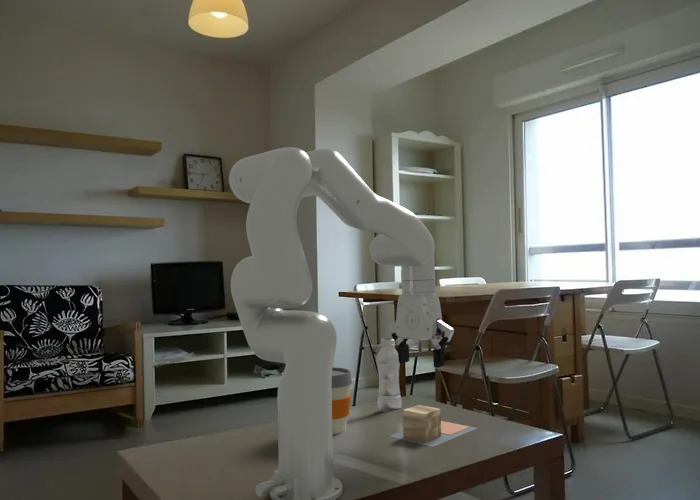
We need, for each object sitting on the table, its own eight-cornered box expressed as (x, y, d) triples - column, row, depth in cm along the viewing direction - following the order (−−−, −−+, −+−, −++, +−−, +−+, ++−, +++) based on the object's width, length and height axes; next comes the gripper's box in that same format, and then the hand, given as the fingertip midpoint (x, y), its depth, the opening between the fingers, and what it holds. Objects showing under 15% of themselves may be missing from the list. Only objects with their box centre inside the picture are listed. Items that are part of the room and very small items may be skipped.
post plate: (433, 454, 114) (432, 426, 114) (388, 442, 122) (388, 417, 122) (477, 434, 127) (477, 409, 127) (435, 425, 135) (434, 402, 135)
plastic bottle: (400, 415, 145) (398, 340, 146) (375, 414, 147) (374, 340, 147) (403, 409, 152) (401, 337, 152) (379, 409, 153) (377, 337, 154)
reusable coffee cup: (361, 439, 125) (359, 373, 126) (309, 446, 121) (307, 378, 121) (341, 425, 137) (340, 365, 138) (293, 431, 132) (292, 369, 133)
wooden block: (425, 442, 117) (424, 414, 117) (403, 437, 121) (402, 409, 121) (441, 436, 121) (440, 408, 122) (419, 431, 126) (418, 404, 126)
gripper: (378, 288, 126) (380, 363, 125) (441, 289, 114) (444, 371, 114) (398, 287, 132) (401, 358, 131) (460, 287, 120) (463, 365, 119)
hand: (421, 364), depth 122 cm, fingers open, 9 cm apart
